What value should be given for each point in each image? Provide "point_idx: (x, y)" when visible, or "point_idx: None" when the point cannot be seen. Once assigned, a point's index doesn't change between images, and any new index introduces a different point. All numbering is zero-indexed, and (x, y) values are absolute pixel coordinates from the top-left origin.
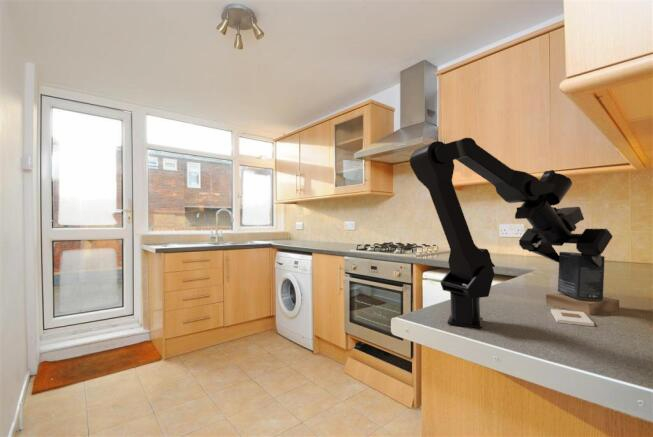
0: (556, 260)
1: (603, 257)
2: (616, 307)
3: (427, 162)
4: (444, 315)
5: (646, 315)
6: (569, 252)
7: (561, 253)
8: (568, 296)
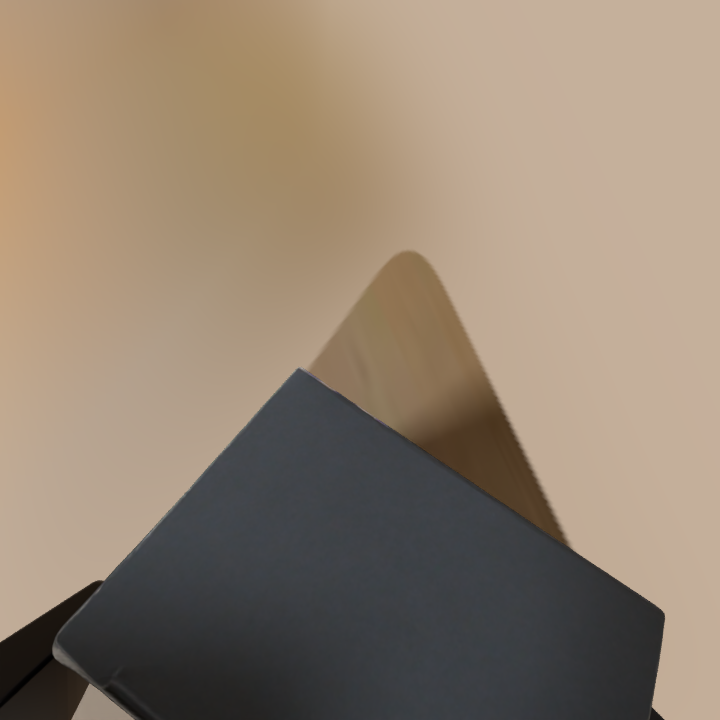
0: (82, 695)
1: (656, 631)
2: None
3: None
4: None
5: (542, 494)
6: (224, 637)
7: (107, 690)
8: None
